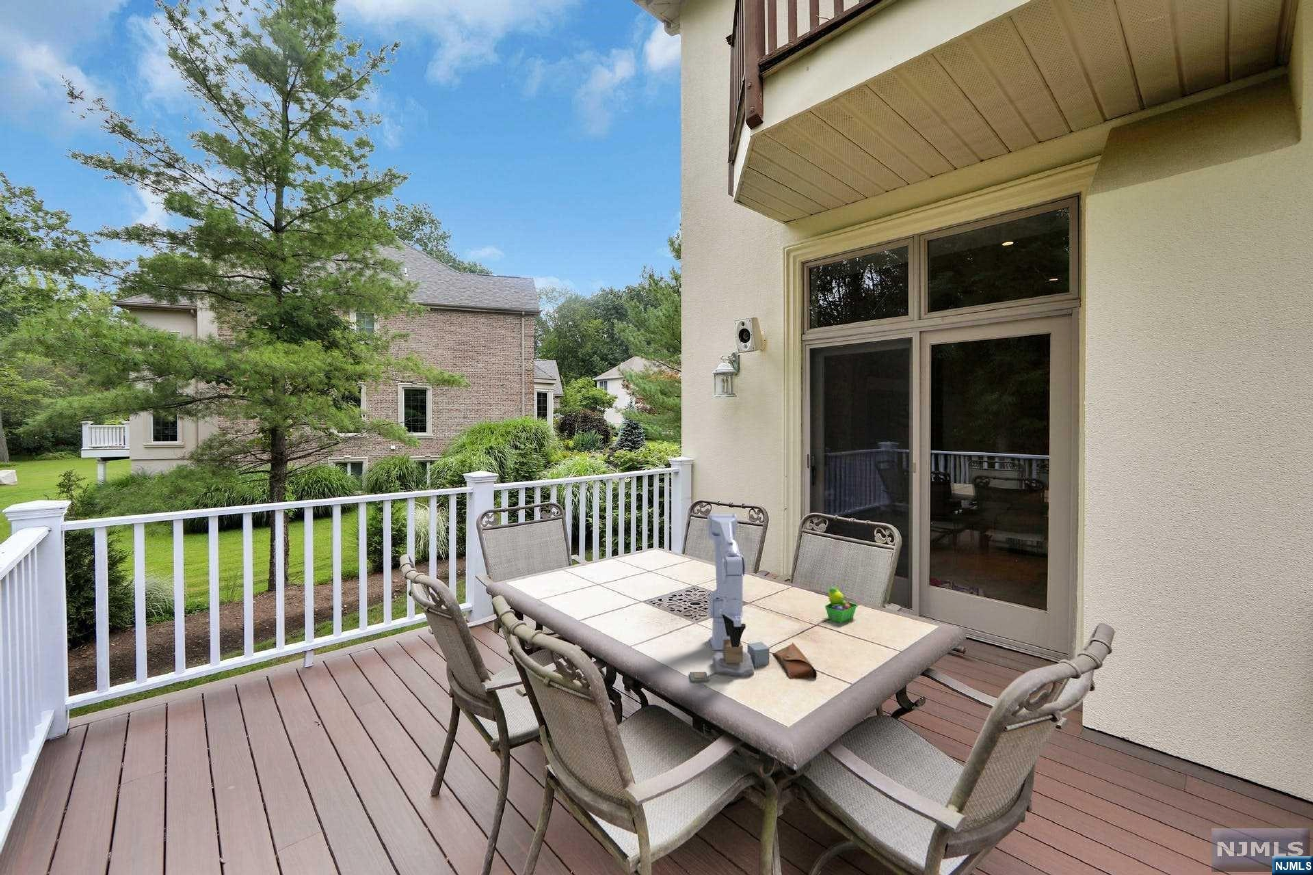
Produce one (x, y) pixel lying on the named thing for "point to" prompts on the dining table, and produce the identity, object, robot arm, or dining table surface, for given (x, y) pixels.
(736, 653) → the walnut cube
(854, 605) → the fruit basket
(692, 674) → the tile
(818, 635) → the dining table surface
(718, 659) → the stone block
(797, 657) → the sunglasses case
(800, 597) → the dining table surface
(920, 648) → the dining table surface
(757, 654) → the blue-grey cube
